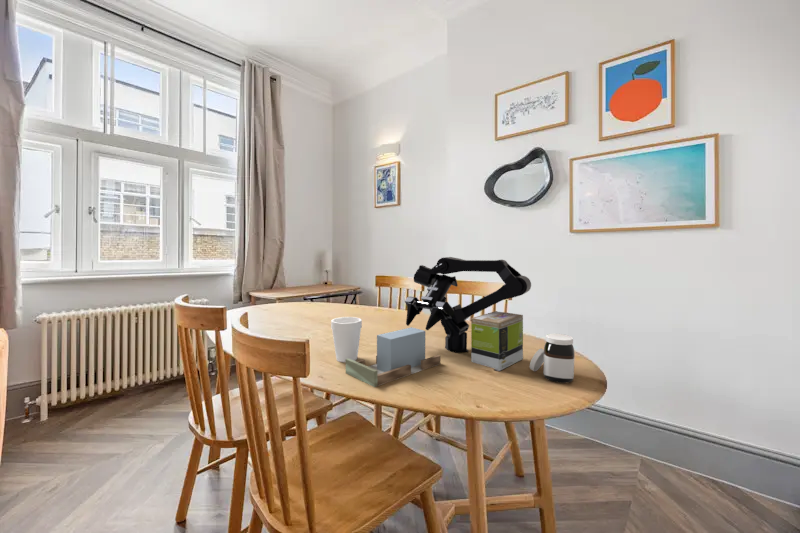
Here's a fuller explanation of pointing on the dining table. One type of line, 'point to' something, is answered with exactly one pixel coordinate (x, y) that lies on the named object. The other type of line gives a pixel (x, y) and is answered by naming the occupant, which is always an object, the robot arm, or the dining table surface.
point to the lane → (379, 377)
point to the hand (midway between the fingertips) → (416, 327)
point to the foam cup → (346, 337)
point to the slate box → (400, 349)
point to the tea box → (497, 339)
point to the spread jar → (556, 358)
